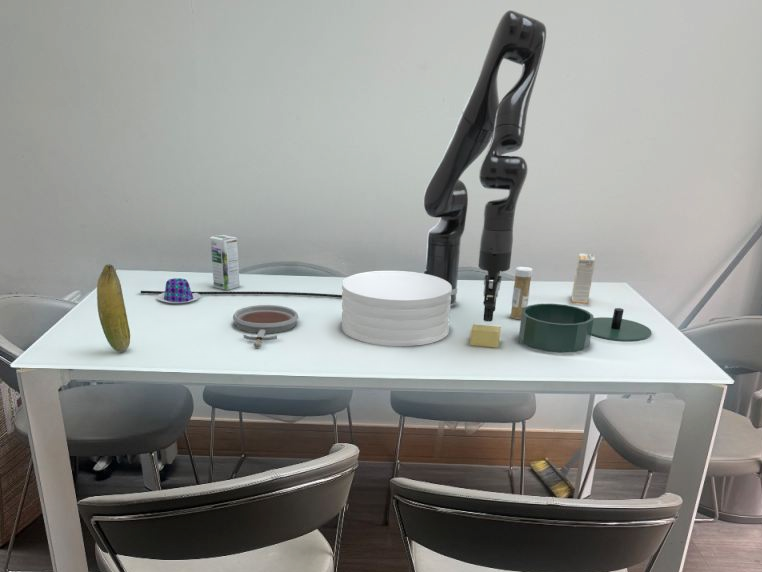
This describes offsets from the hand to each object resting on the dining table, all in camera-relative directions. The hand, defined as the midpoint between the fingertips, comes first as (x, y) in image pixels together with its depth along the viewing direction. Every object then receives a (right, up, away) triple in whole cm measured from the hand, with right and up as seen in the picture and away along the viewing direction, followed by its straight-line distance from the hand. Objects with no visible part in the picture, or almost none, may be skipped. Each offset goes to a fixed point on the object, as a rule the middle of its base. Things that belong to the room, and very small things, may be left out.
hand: (489, 315), depth 189 cm
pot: (+17, -5, +6) cm, 19 cm away
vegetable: (-88, -11, -10) cm, 90 cm away
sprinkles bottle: (+11, +6, +24) cm, 27 cm away
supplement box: (+32, +14, +39) cm, 53 cm away
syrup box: (-73, +19, +40) cm, 85 cm away
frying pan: (-57, -2, +7) cm, 57 cm away
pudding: (-84, +12, +28) cm, 90 cm away
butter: (-1, -6, +4) cm, 7 cm away
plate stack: (-23, 0, +12) cm, 26 cm away
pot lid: (+36, 0, +15) cm, 39 cm away
